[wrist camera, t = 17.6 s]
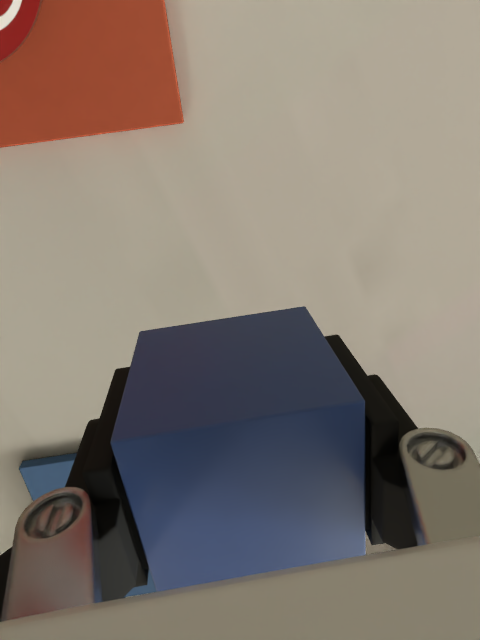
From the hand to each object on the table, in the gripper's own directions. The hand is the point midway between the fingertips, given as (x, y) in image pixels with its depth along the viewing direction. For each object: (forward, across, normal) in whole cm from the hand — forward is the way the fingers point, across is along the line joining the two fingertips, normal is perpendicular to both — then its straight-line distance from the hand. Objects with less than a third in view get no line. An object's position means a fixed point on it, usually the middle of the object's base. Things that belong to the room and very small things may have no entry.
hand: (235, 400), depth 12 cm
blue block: (+1, 0, 0) cm, 1 cm away
